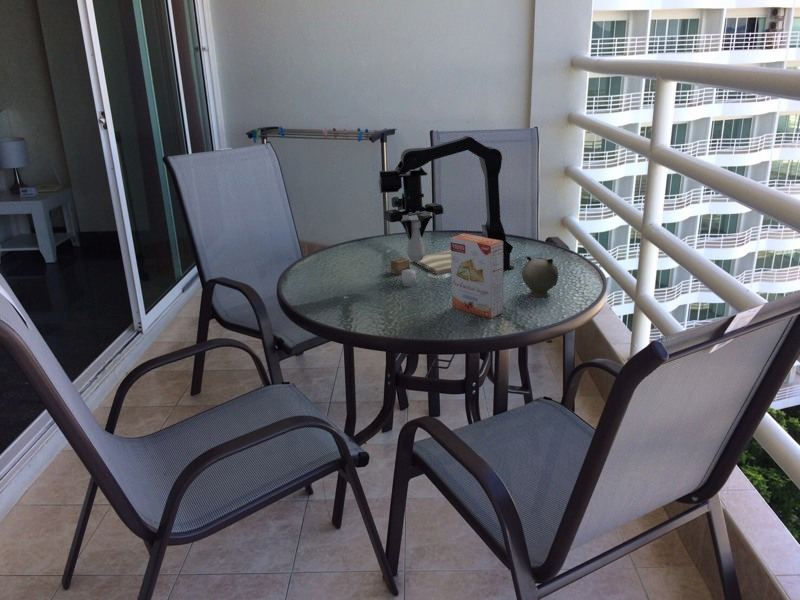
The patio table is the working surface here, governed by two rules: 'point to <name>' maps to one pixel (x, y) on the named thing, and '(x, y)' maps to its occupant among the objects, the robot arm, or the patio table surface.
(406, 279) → the white rounded cube
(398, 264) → the walnut block
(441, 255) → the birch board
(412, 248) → the salt shaker
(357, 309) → the patio table surface
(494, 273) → the cracker box
